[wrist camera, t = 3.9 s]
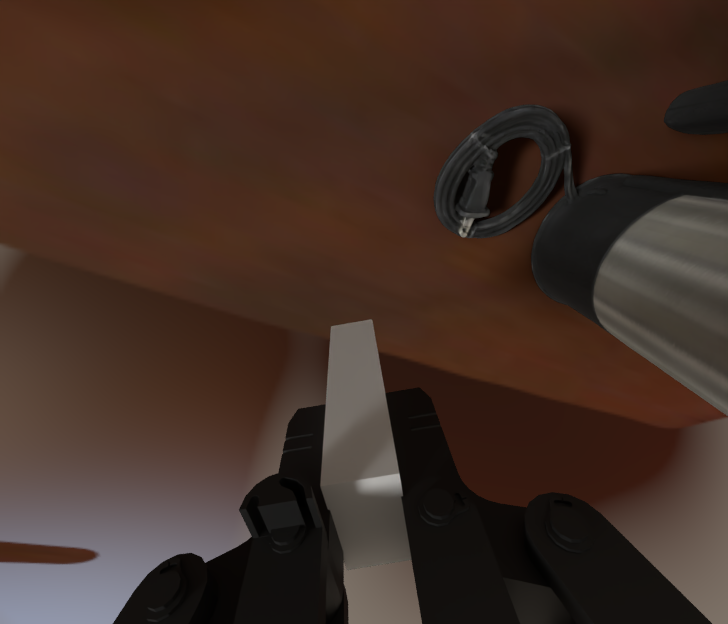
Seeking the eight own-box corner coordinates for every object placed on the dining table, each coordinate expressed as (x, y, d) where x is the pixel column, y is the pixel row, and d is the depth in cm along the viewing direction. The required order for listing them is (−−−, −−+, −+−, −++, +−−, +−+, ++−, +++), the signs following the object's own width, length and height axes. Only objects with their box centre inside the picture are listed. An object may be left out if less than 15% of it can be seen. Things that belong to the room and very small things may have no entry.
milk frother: (647, 292, 26) (974, 445, 13) (442, 333, 26) (548, 523, 13) (689, 69, 20) (1415, -95, 6) (421, 127, 20) (579, 85, 7)
